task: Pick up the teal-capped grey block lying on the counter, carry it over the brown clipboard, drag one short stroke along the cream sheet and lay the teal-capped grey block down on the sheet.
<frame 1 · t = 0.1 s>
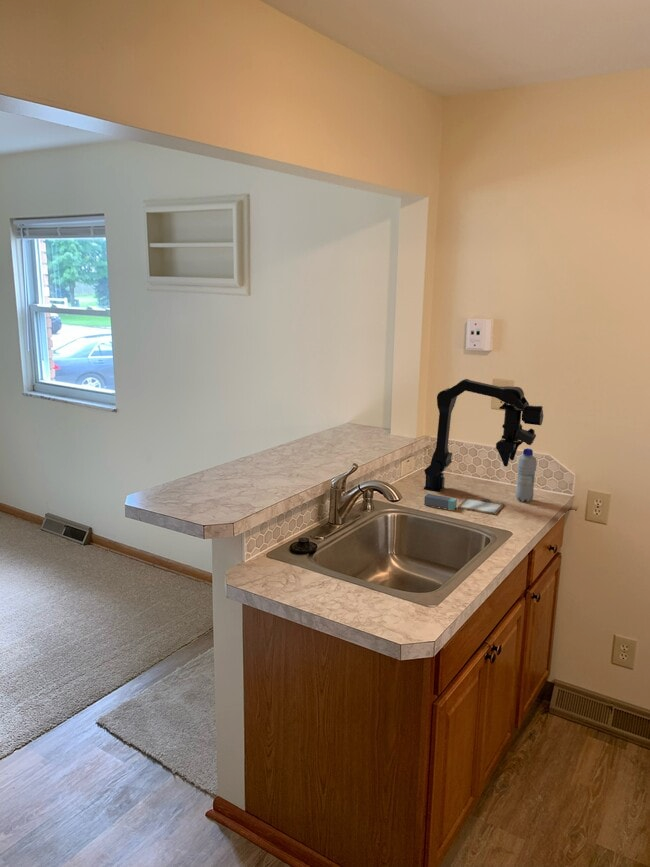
hand: (508, 463, 245), 15 cm above the counter, tool pointing down, fingers open, 9 cm apart
clipboard: (481, 506, 243), on the counter
bottle: (523, 500, 250), on the counter
teal-capped grey block: (440, 506, 242), on the counter
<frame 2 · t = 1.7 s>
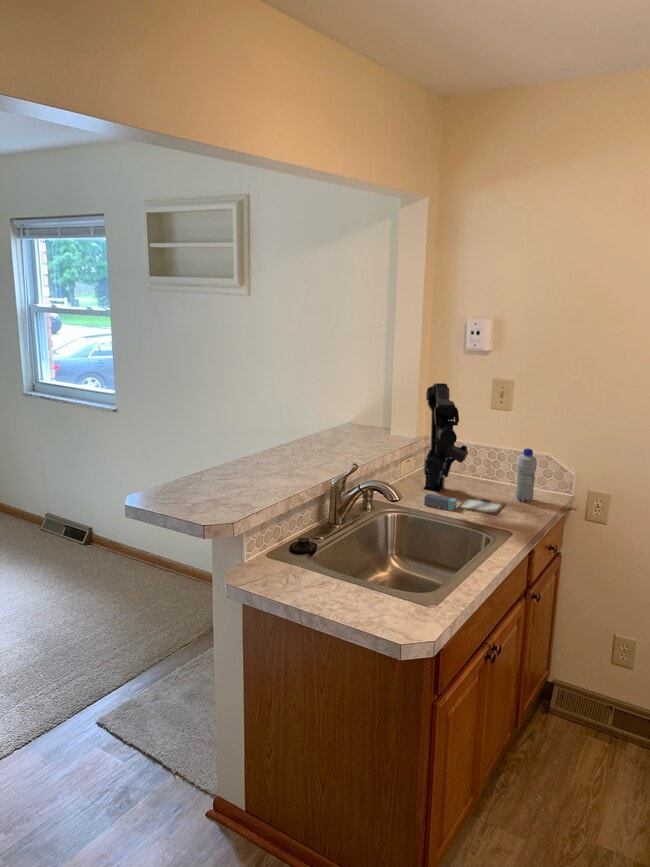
hand: (441, 480, 240), 10 cm above the counter, tool pointing down, fingers open, 9 cm apart
nothing on the counter moved.
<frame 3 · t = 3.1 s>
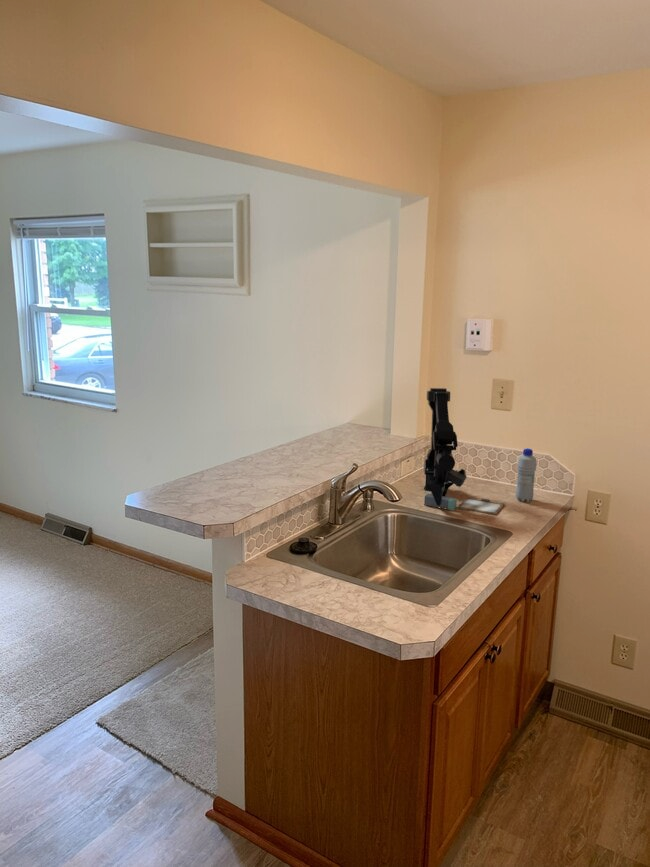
hand: (440, 503, 242), 1 cm above the counter, tool pointing down, fingers closed on teal-capped grey block, 3 cm apart
teal-capped grey block: (440, 506, 242), on the counter, touching gripper
everything else where it was.
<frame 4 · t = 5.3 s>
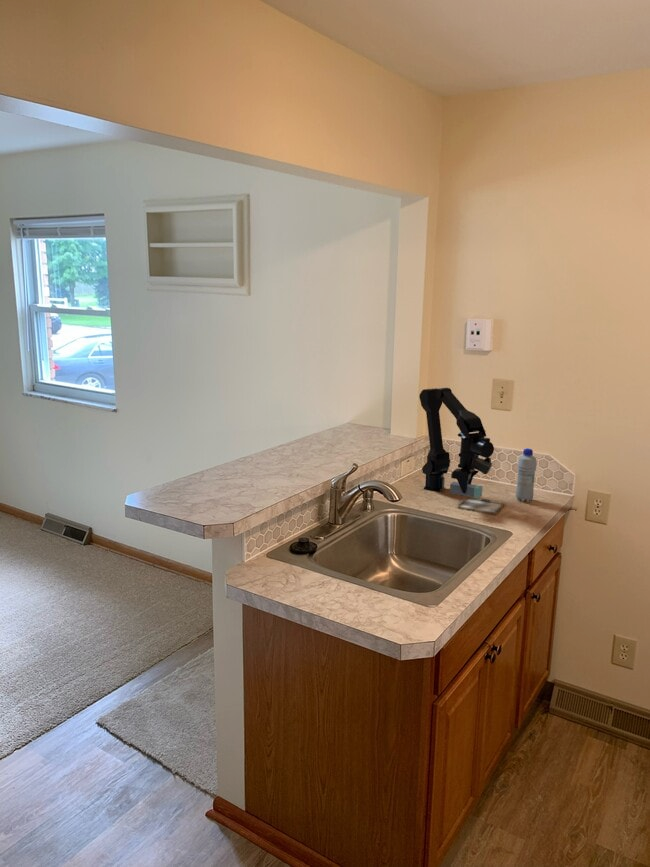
hand: (465, 491, 244), 5 cm above the counter, tool pointing down, fingers closed on teal-capped grey block, 3 cm apart
teal-capped grey block: (465, 494, 245), point 4 cm above the counter, touching gripper
everything else where it was.
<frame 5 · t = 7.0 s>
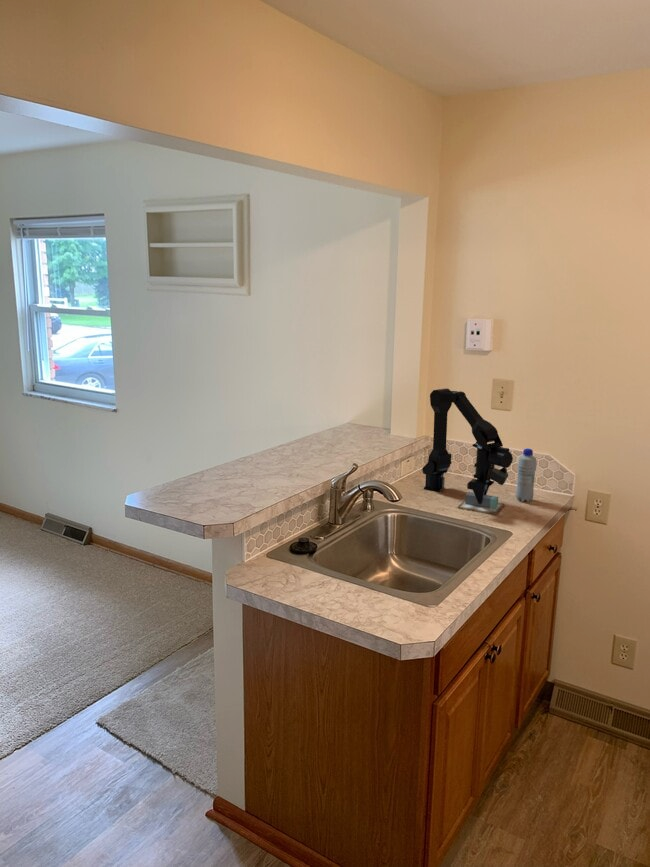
hand: (481, 502, 242), 2 cm above the counter, tool pointing down, fingers closed on teal-capped grey block, 3 cm apart
teal-capped grey block: (481, 504, 242), point 1 cm above the counter, touching gripper
everything else where it was.
when the fingers open (2 cm above the counter, at t = 7.8 s): teal-capped grey block stays where it is, resting on clipboard.
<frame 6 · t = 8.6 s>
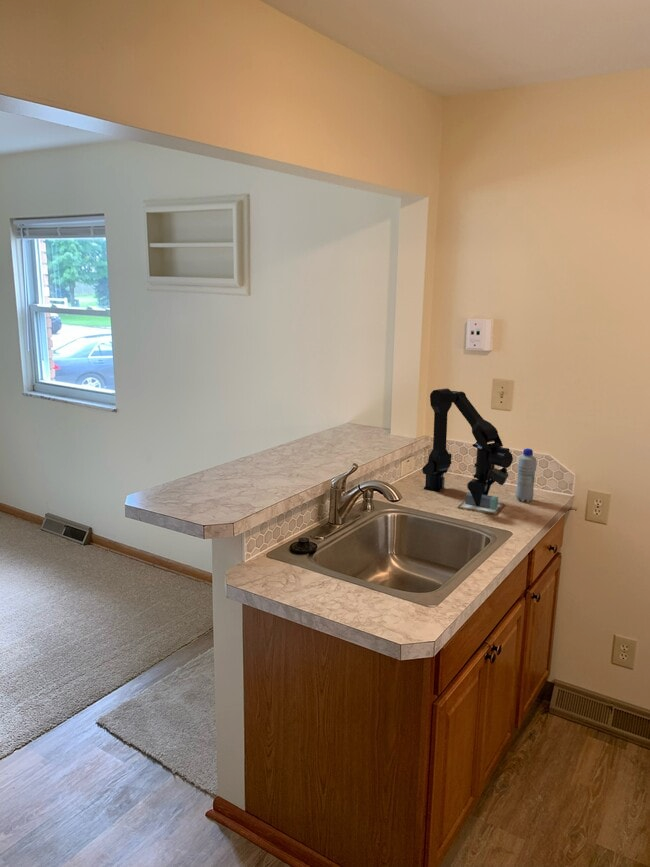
hand: (481, 502, 242), 2 cm above the counter, tool pointing down, fingers open, 9 cm apart
teal-capped grey block: (481, 505, 243), point 1 cm above the counter, touching clipboard
everything else where it was.
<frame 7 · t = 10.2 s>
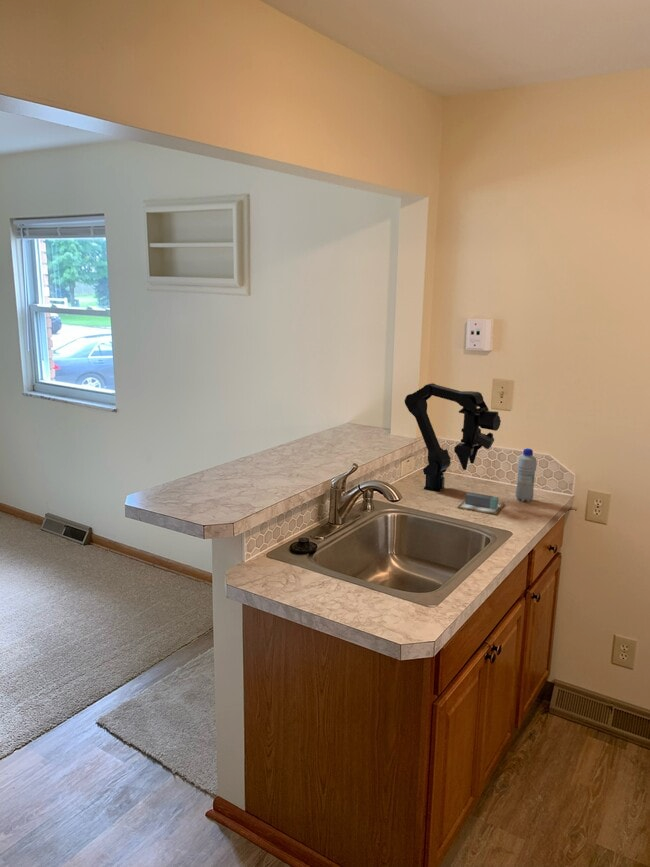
hand: (468, 466, 250), 12 cm above the counter, tool pointing down, fingers open, 9 cm apart
nothing on the counter moved.
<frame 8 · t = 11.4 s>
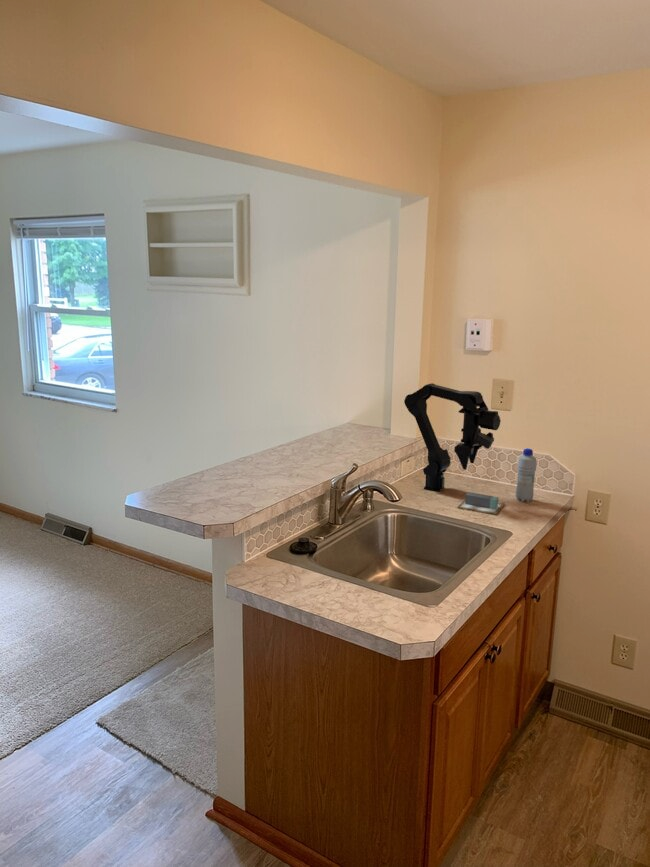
hand: (468, 466, 250), 12 cm above the counter, tool pointing down, fingers open, 9 cm apart
nothing on the counter moved.
at the end: teal-capped grey block inside the target area on the clipboard (0.0 cm from its centre), point 0.6 cm above the clipboard's base; the gripper is holding nothing; teal-capped grey block moved 15.0 cm from its start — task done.
